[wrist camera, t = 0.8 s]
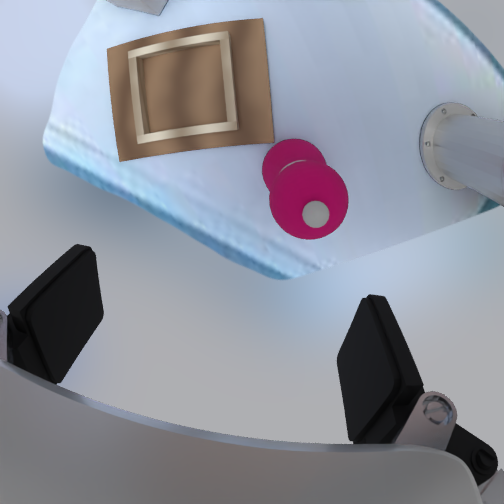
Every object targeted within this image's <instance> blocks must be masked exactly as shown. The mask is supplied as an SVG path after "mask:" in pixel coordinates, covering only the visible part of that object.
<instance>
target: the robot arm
mask: <svg viewBox="0 0 504 504" xmlns="http://www.w3.org/2000/svg"><path fill="white" fill-rule="evenodd" d="M425 142H426V144H425ZM420 152H421V157H422V161H423V164H424V166H425V168H426V170H427V172H428V173H429V175H430V176H431V177H432V178H433V179H434V181H436V182H437V183H438V184H440V185H442V186H444V187H445V188H448V189H452V190H460V189H465V188H467V187H469V188H471V189H473V190H475V191H477V192H478V193H480V194H482V195H484V196H486V197H488V198H489V199H491V200H493V201H495V202H497V203H498V204H500V205H502V206H503V207H504V121H500V120H494V119H489V118H483V117H478V116H477V115H476V113H475V112H473V111H472V110H471V109H470V108H468V107H467V106H465V105H462V104H459V103H445V104H442V105H439V106H438V107H436V108H435V109H433V111H432V112H431V113H430V114H429V115H428V117H427V118H426V120H425V122H424V124H423V127H422V131H421V135H420ZM8 309H9V312H10V314H9V315H8V316H7V315H6V314H5V312H3V311H2V310H0V504H504V471H503V470H502V469H500V470H499V471H498V470H497V466H498V460H497V456H496V453H495V451H494V450H493V449H492V448H491V447H490V446H489V445H488V444H486V443H485V442H483V441H482V440H480V439H479V438H477V437H476V436H474V435H473V434H471V433H469V432H468V431H467V430H465V429H464V428H462V427H461V426H459V425H458V424H456V420H457V411H456V408H455V406H454V404H453V402H452V401H451V400H450V399H449V398H448V397H447V396H445V395H444V394H441V393H439V392H434V391H431V392H426V393H425V392H424V389H423V382H422V379H421V377H420V375H419V372H418V369H417V367H416V364H415V362H414V360H413V357H412V355H411V352H410V350H409V348H408V345H407V343H406V341H405V339H404V336H403V334H402V332H401V329H400V327H399V325H398V323H397V321H396V319H395V316H394V314H393V312H392V310H391V308H390V305H389V304H388V301H387V299H386V298H385V297H384V296H378V295H371V294H370V295H368V296H367V297H366V298H362V300H361V302H360V304H359V307H358V309H357V312H356V314H355V316H354V319H353V321H352V323H351V326H350V328H349V330H348V333H347V335H346V337H345V339H344V342H343V344H342V346H341V348H340V351H339V353H338V356H337V367H338V373H339V379H340V384H341V391H342V397H343V403H344V409H345V417H346V424H347V431H348V438H349V440H350V441H353V444H321V443H299V442H285V441H274V440H265V439H264V440H263V439H256V438H248V437H241V436H234V435H228V434H221V433H216V432H210V431H205V430H200V429H195V428H190V427H186V426H181V425H177V424H172V423H168V422H164V421H160V420H156V419H153V418H149V417H146V416H142V415H139V414H135V413H132V412H129V411H125V410H122V409H119V408H116V407H113V406H110V405H107V404H104V403H101V402H98V401H96V400H93V399H90V398H88V397H85V396H82V395H79V394H77V393H75V392H72V391H70V390H67V389H65V388H62V387H60V386H58V385H56V384H57V383H61V382H62V380H63V379H64V377H65V375H66V374H67V372H68V371H69V369H70V368H71V366H72V364H73V363H74V361H75V360H76V358H77V357H78V355H79V354H80V352H81V350H82V349H83V347H84V346H85V344H86V343H87V341H88V340H89V338H90V337H91V335H92V334H93V332H94V331H95V329H96V328H97V326H98V325H99V324H100V322H101V321H102V319H103V314H104V311H103V304H102V299H101V293H100V285H99V278H98V271H97V262H96V255H95V252H93V251H92V249H91V247H89V246H84V245H79V244H76V245H74V246H73V247H72V248H71V249H69V250H68V251H67V252H66V253H65V254H63V255H62V256H61V257H60V258H59V259H58V260H56V261H55V262H54V263H53V264H52V265H51V266H50V267H49V268H47V269H46V270H45V271H44V272H43V273H42V274H41V275H40V276H39V277H38V278H36V279H35V280H34V281H33V282H32V283H31V284H30V285H29V286H28V287H27V288H26V289H25V290H24V291H23V292H22V293H21V294H20V295H19V296H18V297H17V298H16V299H15V300H14V301H13V302H12V303H11V304H10V305H9V306H8Z"/></svg>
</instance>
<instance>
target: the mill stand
mask: <svg viewBox="0 0 504 504" xmlns="http://www.w3.org/2000/svg"><path fill="white" fill-rule="evenodd" d="M107 58H108V73H109V85H110V95H111V104H112V113H113V121H114V129H115V136H116V142H117V149H118V155H119V161H120V162H122V161H127V160H133V159H138V158H144V157H150V156H156V155H162V154H169V153H176V152H183V151H190V150H198V149H206V148H215V147H225V146H235V145H247V144H260V143H274V135H273V122H272V109H271V97H270V86H269V74H268V64H267V53H266V43H265V33H264V24H263V18H260V19H247V20H237V21H228V22H220V23H213V24H206V25H200V26H194V27H189V28H184V29H179V30H174V31H169V32H165V33H161V34H156V35H152V36H149V37H145V38H141V39H137V40H134V41H131V42H127V43H124V44H121V45H118V46H115V47H111V48H109V49H107Z"/></svg>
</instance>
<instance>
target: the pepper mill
mask: <svg viewBox="0 0 504 504" xmlns="http://www.w3.org/2000/svg"><path fill="white" fill-rule="evenodd" d="M262 174H263V179H264V182H265V184H266V186H267V188H268V189H269V191H270V195H269V201H270V209H271V212H272V215H273V217H274V219H275V221H276V222H277V223H278V225H279V226H280V227H281V228H282V229H283V230H284V231H285V232H287V233H288V234H290V235H292V236H294V237H297V238H301V239H318V238H322V237H324V236H326V235H328V234H330V233H332V232H333V231H334V230H336V229H337V228H338V227H339V226H340V224H341V223H342V222H343V220H344V217H345V215H346V213H347V209H348V192H347V189H346V185H345V183H344V181H343V180H342V178H341V177H340V175H339V174H338V173H337V172H336V171H335V170H334V169H332V168H331V167H330V166H328V165H326V162H325V159H324V157H323V155H322V154H321V152H320V151H319V150H318V149H317V148H316V147H315V146H314V145H313V144H311V143H309V142H307V141H305V140H301V139H288V140H284V141H281V142H279V143H277V144H276V145H274V146H273V147H272V148H271V149H270V150H269V151H268V153H267V155H266V156H265V158H264V161H263V166H262Z"/></svg>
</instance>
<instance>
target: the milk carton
mask: <svg viewBox="0 0 504 504" xmlns="http://www.w3.org/2000/svg"><path fill="white" fill-rule="evenodd" d="M107 1H108V2H110V3H112V4H114V5H115V6H117V7H122V8H127V9H132V10H137V11H141V12H146V13H150V14H154V15H160V13H161V11H162V9H163V8H164V6H165V4H166V3H167V1H168V0H107Z"/></svg>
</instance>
